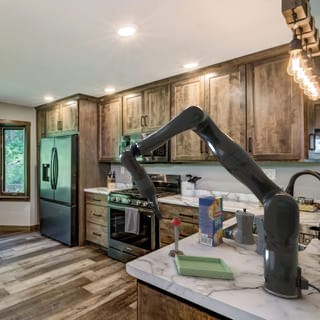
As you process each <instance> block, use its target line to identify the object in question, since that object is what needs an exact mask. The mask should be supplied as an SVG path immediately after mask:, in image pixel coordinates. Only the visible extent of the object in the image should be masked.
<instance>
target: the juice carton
mask: <svg viewBox="0 0 320 320" xmlns="http://www.w3.org/2000/svg"><path fill="white" fill-rule="evenodd" d="M223 201H224V197H221V196H213V195H206V196H202V197H198V244H201V245H205V246H209V247H215V246H217V245H220V244H221V243H223V242H224V205H223V204H224V202H223Z"/></svg>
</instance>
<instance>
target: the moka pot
mask: <svg viewBox="0 0 320 320" xmlns="http://www.w3.org/2000/svg"><path fill="white" fill-rule="evenodd" d="M254 222H255V226H256V231H257V232H256V233H257V239H256V248H255V251H256V253H257V254H259V255H261V256H264V214H257V215H255V217H254Z"/></svg>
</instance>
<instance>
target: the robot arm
mask: <svg viewBox="0 0 320 320" xmlns="http://www.w3.org/2000/svg"><path fill="white" fill-rule="evenodd" d="M190 130H191V131H192V132H193V133H194V134H196V135H197V136H198V137H199V138H200V139H201V140H202V141H203V142H204V143H205V144H206V146H207V147H208V149H209V151H210V152H211V154H212V155H213V157H214V158H215V159H216V161H217V162H218V163H219V164H220V165H221V167H223V168H224V169H225V171H227V172H228V173H229V174H230V175H231V176H232V177H233V178H234V179H236V180H237V181H238V182H240V183H241V184H242V185H244V186H245V187H246V188H247V189H248V190H249V191H250V192H251V193H252V194H253V195H254V197H256V200H258V202H259V203H260V204H261V206H262V207H263V215H264V255H263V274H262V276H261V278H262V280H263V284H262V285H263V286H262V287H263V289H264V290H265V291H266V292H268V294H271V295H274V296H277V297H279V298H283V299H284V298H285V299H297V298H302V296H303V295H302V293H303V292H302V290H303V291H309V289H310V288H311V289H314V290H315V291H317V292H318V293H320V288H318V287H317V286H315V285H313V284H311V283H309V282H310V281H309V280H308V279H307V278H305V277H304V276H303V274H302V267H301V266H299V239H300V226H301V225H300V224H301V223H300V222H301V221H300V220H301V212H300V211H301V210H300V209H301V208H300V205H299V203H298V201H297V200H296V199H295V198H294V197H293V196H292V195H291V194H289V193H288V192H286V191H285V190H284V189H283V188H281V187H280V186H279V185H277V183H275V182H274V181H273V180H272V179H271V178H269V176H268V175H267V174H266V172H264V170H263V169H262V168H261V166H260V165H259V164H258V163H257V161H256V160H255V159H254V158H253V156H252V155H250V153H249V152H248V151H246V149H244V148H243V146H242V145H240V144H239V143H238V142H237V141H236V140H235V139H233V138H232V137H231V136H230V135H228V134H227V133H226V132H224V131H223V129H221V128H220V127H219V126H218V125H217V124H216V122H215V121H214V120H213V119H212V118H211V116H210V115H209V114H208V112H207V111H206V110H205V109H204V108H202V107H201V106H198V105H189V106H186V107H185V108H184V109H183V110H182V111H180V112H179V113H178V114H177V115H175V116H174V117H173V118H172V119H170V120H169V121H168V122H166V123H165V124H164V125H162V126H161V127H159V128H157V129H156V130H154V131H152V132H151V133H149V134H147V135H146V136H144V137H142V138H140V139H139V140H137V141H135V142H133V143H131V144H129V145H128V146H126V147H125V148H124V149H123V150H122V151H121V152H120V154H119V159H120V162H121V164H122V165H123V167H124V168H125V169H126V170H127V172H128V173H129V174H130V177H131V178H132V180H133V182H134V185H135V186H136V189H137V191H138V193H139V194H140V196H141V198H143V199H147V203H148V205H149V206H150V208H151V211H152V212H153V214H154V215H155V216H156V218H157V220H159V221H160V220H163V219H164V216H163V215H162V213H161V212H162V208H161V206H160V204H159V199H158V198H157V196H156V194H157V188H156V186H155V185H154V181H152V179H151V177H150V175H149V174H148V172H147V170H146V168H145V167H144V165H143V164H141V163H139V161H138V160H137V159H138V158H139V157H141V156H143V155H148V154H150V153H152V152H154V151H155V150H157V149H159V148H160V147H162V146H163V145H165V144H166V143H167V142H169V141H170V140H171V139H173V138H175V137H176V136H177V135H179V134H182V133H185V132H187V131H190ZM309 287H310V288H309Z"/></svg>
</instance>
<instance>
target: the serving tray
mask: <svg viewBox="0 0 320 320" xmlns="http://www.w3.org/2000/svg"><path fill="white" fill-rule="evenodd" d="M174 261H175V264H176V267H177V272H178V274H179V275H181V276H192V277H203V278H213V279H222V280H223V279H224V280H232V281H233V280H234V272H233V271H232V270H231V268H230V267H229V266H228V264H227V263H226V262H225V261H224V259H223V258H222V257H211V256H198V255H187V254H183V255H176V254H175V257H174Z"/></svg>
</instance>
